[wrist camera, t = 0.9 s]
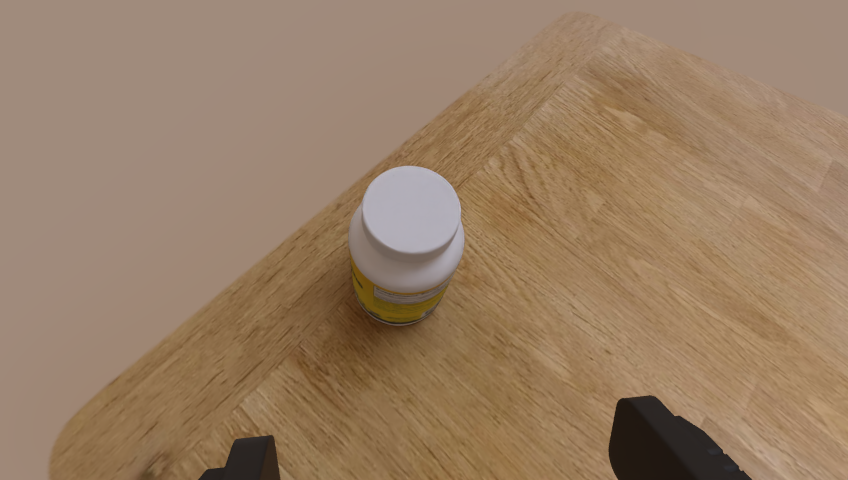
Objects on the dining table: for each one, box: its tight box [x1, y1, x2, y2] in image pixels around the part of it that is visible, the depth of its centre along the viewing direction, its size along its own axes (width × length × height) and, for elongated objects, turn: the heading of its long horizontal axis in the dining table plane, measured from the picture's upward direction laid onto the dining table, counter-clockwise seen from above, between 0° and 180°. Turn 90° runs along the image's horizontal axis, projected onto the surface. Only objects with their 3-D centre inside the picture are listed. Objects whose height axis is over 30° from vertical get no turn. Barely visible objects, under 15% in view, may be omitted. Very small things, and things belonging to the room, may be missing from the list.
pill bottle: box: [348, 166, 464, 326], centre depth 25 cm, size 6×6×11 cm
